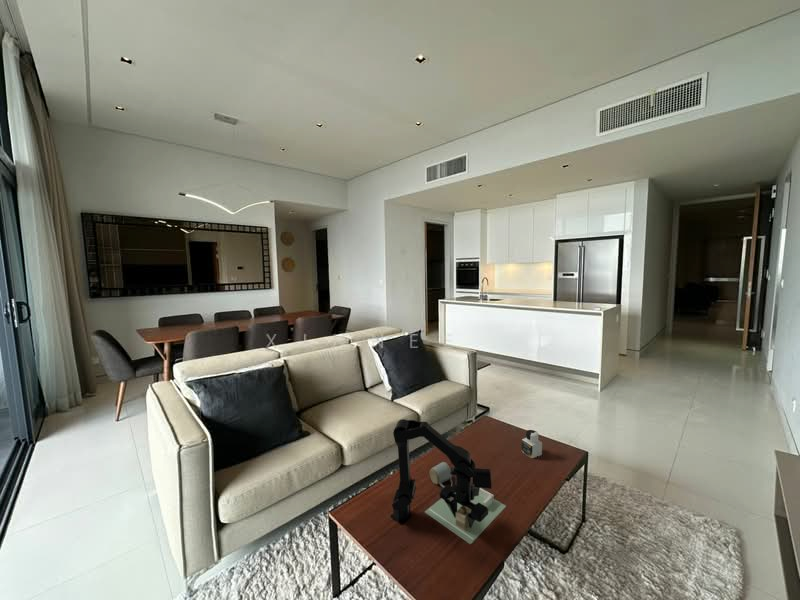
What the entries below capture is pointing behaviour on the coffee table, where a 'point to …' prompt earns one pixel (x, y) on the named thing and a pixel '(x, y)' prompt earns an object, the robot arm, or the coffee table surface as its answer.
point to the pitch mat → (447, 519)
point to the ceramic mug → (441, 474)
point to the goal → (486, 497)
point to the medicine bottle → (531, 444)
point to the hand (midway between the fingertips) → (463, 522)
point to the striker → (462, 518)
